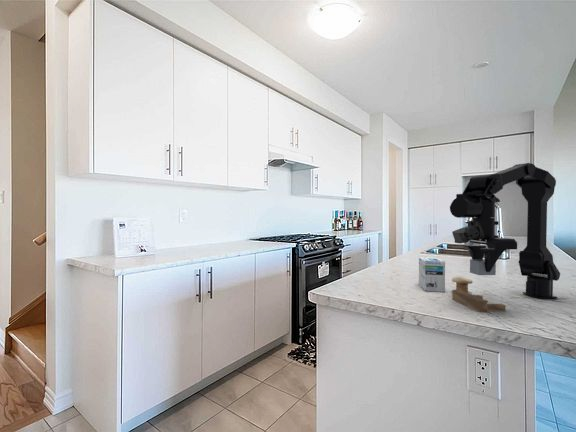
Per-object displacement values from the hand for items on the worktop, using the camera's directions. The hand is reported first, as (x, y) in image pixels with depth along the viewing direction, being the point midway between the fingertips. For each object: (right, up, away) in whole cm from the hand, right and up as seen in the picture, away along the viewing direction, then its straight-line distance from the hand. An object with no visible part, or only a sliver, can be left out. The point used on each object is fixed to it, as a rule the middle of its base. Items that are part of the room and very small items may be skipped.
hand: (482, 270), depth 90 cm
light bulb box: (-6, -10, +20) cm, 23 cm away
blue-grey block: (0, -1, 0) cm, 1 cm away
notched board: (-1, -10, 0) cm, 10 cm away
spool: (+1, -10, +12) cm, 16 cm away
